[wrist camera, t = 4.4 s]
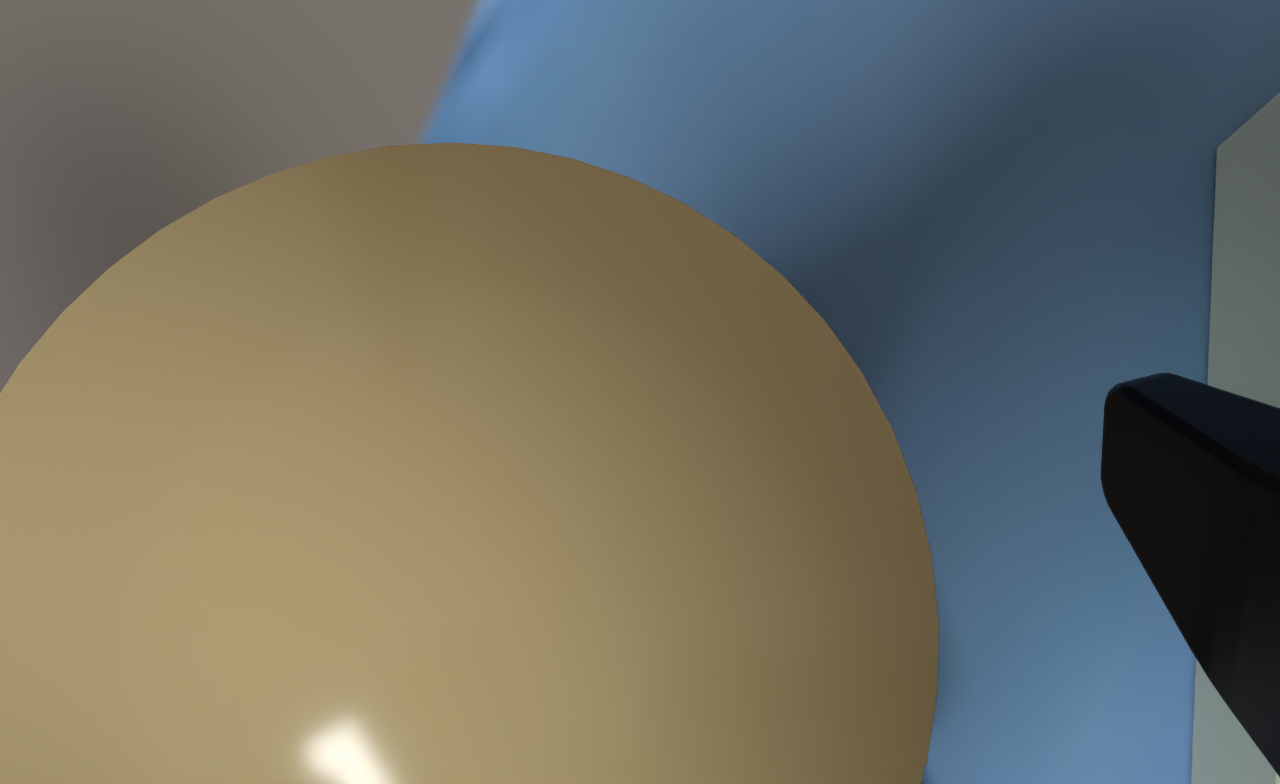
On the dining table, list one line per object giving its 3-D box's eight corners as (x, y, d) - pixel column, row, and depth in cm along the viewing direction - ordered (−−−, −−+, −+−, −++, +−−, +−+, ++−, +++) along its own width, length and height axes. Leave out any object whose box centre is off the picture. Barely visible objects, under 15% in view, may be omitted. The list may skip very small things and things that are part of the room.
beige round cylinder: (632, 864, 15) (598, 1445, 4) (371, 698, 15) (-306, 805, 4) (784, 592, 15) (1110, 439, 5) (531, 442, 16) (296, -10, 5)
